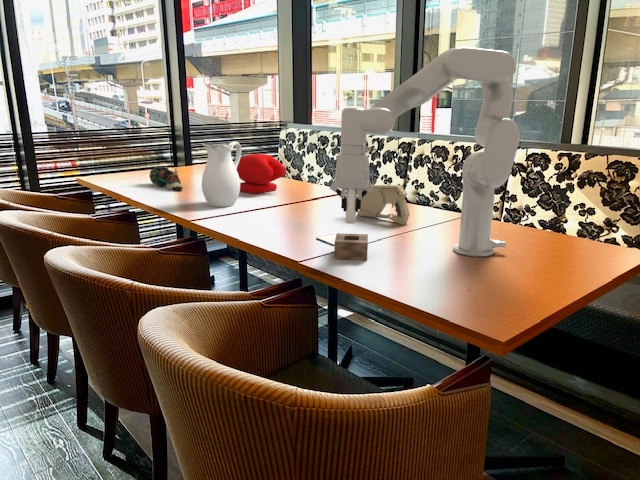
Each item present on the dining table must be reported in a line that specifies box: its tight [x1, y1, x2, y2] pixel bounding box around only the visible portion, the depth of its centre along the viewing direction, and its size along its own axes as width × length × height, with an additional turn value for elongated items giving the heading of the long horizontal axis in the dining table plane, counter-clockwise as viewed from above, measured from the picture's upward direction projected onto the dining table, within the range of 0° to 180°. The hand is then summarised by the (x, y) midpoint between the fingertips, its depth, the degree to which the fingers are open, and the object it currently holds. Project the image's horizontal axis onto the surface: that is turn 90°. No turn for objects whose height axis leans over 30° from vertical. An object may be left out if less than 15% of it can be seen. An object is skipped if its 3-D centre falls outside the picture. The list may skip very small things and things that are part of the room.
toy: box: [236, 153, 286, 195], centre depth 265 cm, size 16×20×30 cm
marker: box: [344, 189, 358, 225], centre depth 157 cm, size 3×3×12 cm
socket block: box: [333, 233, 369, 261], centre depth 161 cm, size 10×10×6 cm
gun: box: [356, 184, 410, 226], centre depth 206 cm, size 24×3×15 cm, turn 47°
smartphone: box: [316, 233, 336, 247], centre depth 176 cm, size 8×1×16 cm
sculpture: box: [149, 165, 184, 192], centre depth 275 cm, size 13×13×30 cm
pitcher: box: [201, 141, 243, 208], centre depth 234 cm, size 24×17×28 cm
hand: (350, 210), depth 158 cm, fingers closed on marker, 3 cm apart
